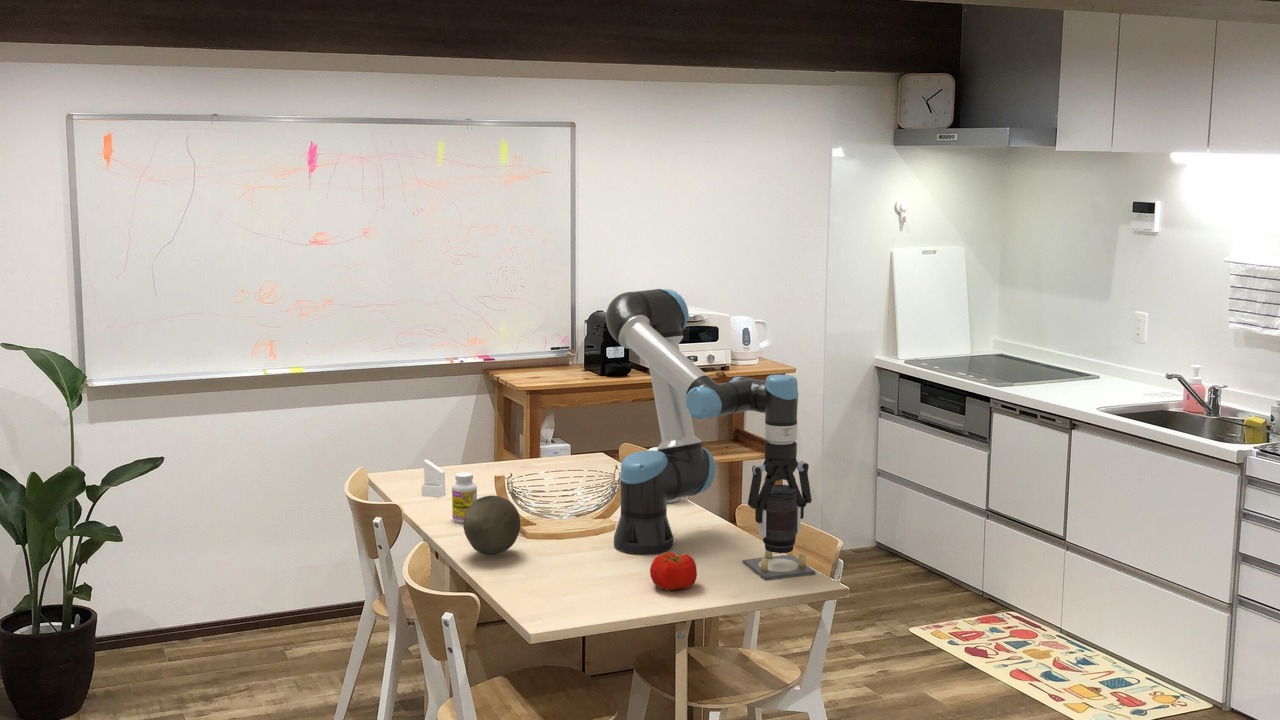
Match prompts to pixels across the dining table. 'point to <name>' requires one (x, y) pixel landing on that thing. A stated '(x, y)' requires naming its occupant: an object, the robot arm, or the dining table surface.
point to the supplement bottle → (462, 495)
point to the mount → (779, 566)
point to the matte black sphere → (491, 525)
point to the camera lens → (780, 519)
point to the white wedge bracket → (433, 480)
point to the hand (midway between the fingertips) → (779, 533)
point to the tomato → (673, 571)
